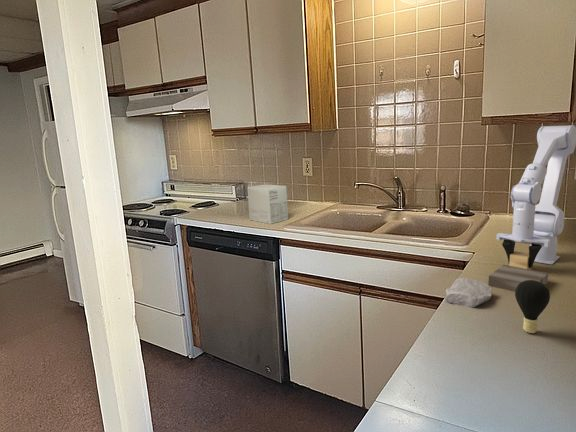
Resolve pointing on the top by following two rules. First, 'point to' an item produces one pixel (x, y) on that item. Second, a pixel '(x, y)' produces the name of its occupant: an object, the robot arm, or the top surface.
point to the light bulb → (532, 302)
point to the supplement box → (268, 203)
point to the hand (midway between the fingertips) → (520, 265)
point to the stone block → (468, 292)
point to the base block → (514, 277)
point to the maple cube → (519, 260)
